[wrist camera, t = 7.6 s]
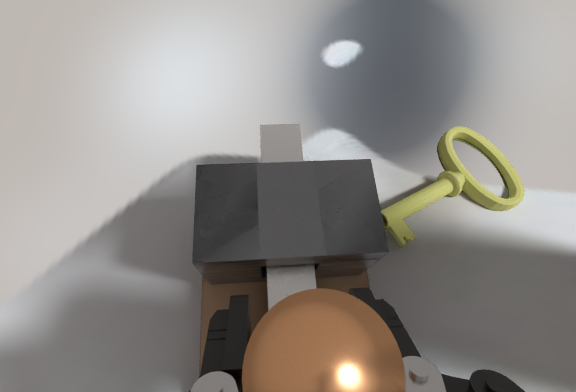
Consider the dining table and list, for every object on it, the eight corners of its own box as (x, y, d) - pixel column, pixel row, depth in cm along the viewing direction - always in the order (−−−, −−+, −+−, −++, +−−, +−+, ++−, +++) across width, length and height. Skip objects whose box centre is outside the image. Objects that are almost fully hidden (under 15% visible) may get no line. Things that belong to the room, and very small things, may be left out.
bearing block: (347, 200, 23) (370, 159, 18) (359, 275, 21) (388, 251, 16) (212, 206, 22) (196, 164, 17) (210, 284, 20) (192, 263, 15)
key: (363, 228, 24) (372, 217, 22) (451, 124, 28) (465, 108, 26) (451, 300, 22) (469, 295, 20) (530, 178, 26) (552, 165, 24)
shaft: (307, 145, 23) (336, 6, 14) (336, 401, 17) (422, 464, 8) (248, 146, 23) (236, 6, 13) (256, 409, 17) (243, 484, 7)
